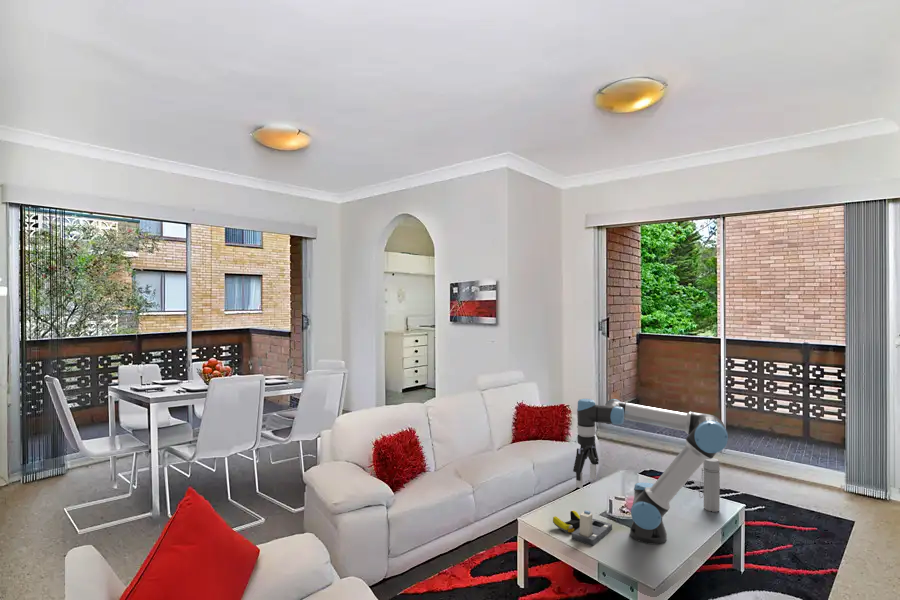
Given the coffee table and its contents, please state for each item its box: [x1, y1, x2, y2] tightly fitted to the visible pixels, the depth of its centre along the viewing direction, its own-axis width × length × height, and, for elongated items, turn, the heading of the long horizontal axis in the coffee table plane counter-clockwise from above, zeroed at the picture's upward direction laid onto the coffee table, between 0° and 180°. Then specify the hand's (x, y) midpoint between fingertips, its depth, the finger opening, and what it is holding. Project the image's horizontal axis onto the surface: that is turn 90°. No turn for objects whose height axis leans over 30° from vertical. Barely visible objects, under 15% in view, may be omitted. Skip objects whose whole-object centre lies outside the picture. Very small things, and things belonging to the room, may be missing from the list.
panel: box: [571, 518, 613, 547], centre depth 235 cm, size 10×20×3 cm, turn 140°
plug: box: [579, 509, 593, 537], centre depth 230 cm, size 4×4×12 cm
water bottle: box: [698, 457, 721, 513], centre depth 261 cm, size 9×8×25 cm
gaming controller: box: [552, 510, 580, 534], centre depth 241 cm, size 15×6×10 cm
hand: (586, 483), depth 230 cm, fingers open, 13 cm apart
